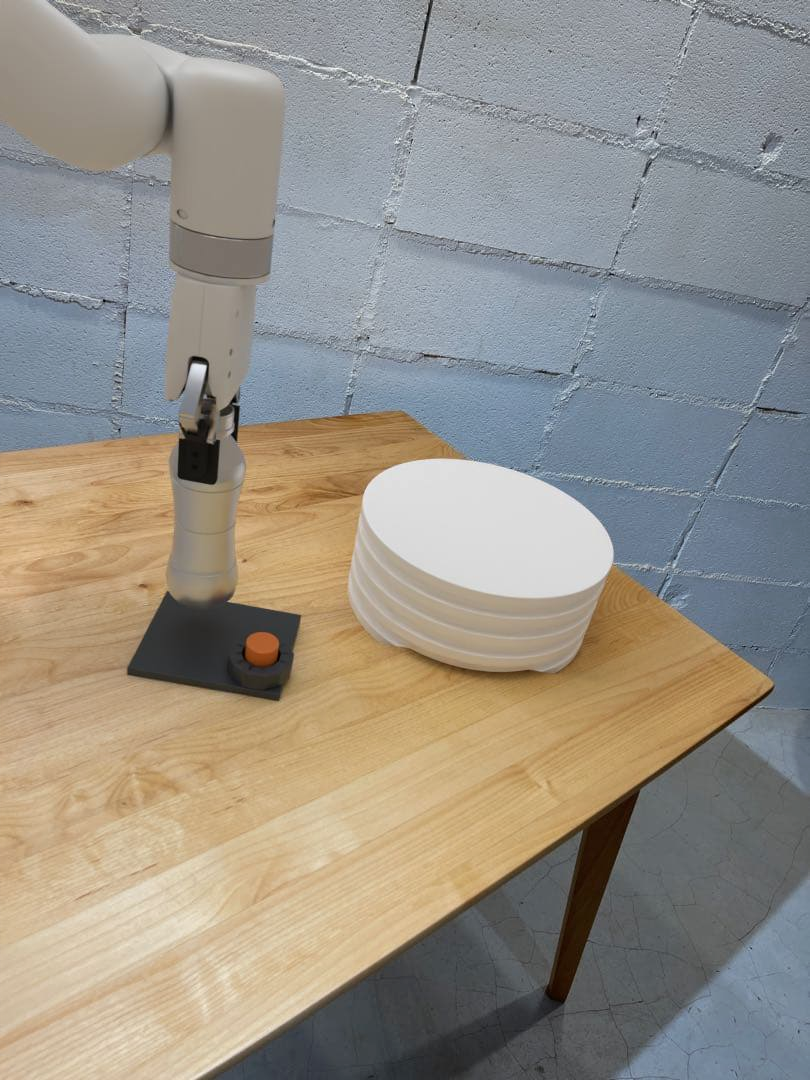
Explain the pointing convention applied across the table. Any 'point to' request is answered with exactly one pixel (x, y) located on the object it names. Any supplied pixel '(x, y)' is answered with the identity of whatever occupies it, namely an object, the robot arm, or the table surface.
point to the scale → (215, 648)
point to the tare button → (261, 649)
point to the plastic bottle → (206, 525)
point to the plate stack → (477, 566)
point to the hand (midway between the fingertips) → (208, 459)
